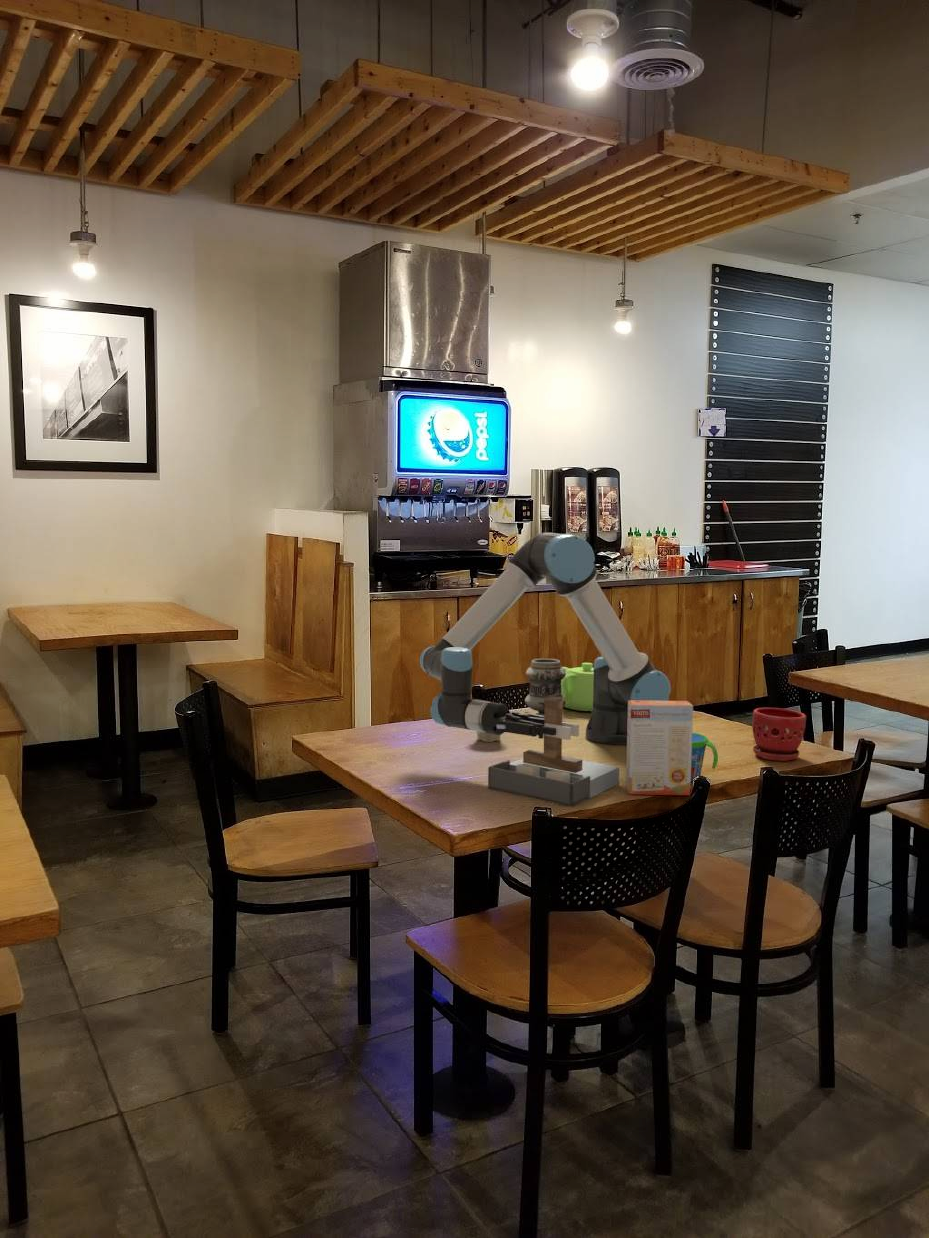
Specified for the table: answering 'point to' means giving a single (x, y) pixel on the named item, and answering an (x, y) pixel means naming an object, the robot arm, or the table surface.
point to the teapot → (578, 687)
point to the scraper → (553, 743)
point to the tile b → (558, 776)
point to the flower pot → (488, 737)
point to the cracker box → (659, 747)
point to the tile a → (528, 769)
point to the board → (599, 775)
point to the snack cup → (700, 754)
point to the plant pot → (778, 733)
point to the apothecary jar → (544, 683)
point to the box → (537, 785)
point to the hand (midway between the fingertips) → (573, 732)
